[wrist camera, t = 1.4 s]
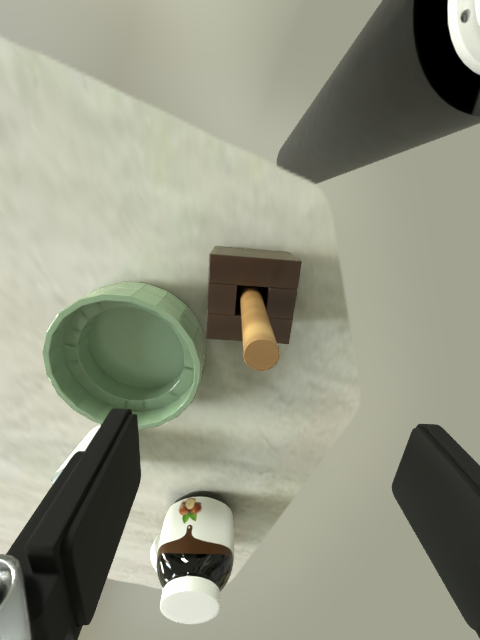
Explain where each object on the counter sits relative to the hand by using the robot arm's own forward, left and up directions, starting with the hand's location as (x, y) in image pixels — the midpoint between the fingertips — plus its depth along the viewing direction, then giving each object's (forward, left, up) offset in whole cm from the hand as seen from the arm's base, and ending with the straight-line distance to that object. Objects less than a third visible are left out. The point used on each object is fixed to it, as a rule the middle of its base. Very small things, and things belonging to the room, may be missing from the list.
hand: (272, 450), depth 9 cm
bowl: (+8, -12, -22) cm, 26 cm away
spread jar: (+37, -5, -23) cm, 43 cm away
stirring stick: (0, 0, -22) cm, 22 cm away
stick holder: (0, 0, -22) cm, 22 cm away
